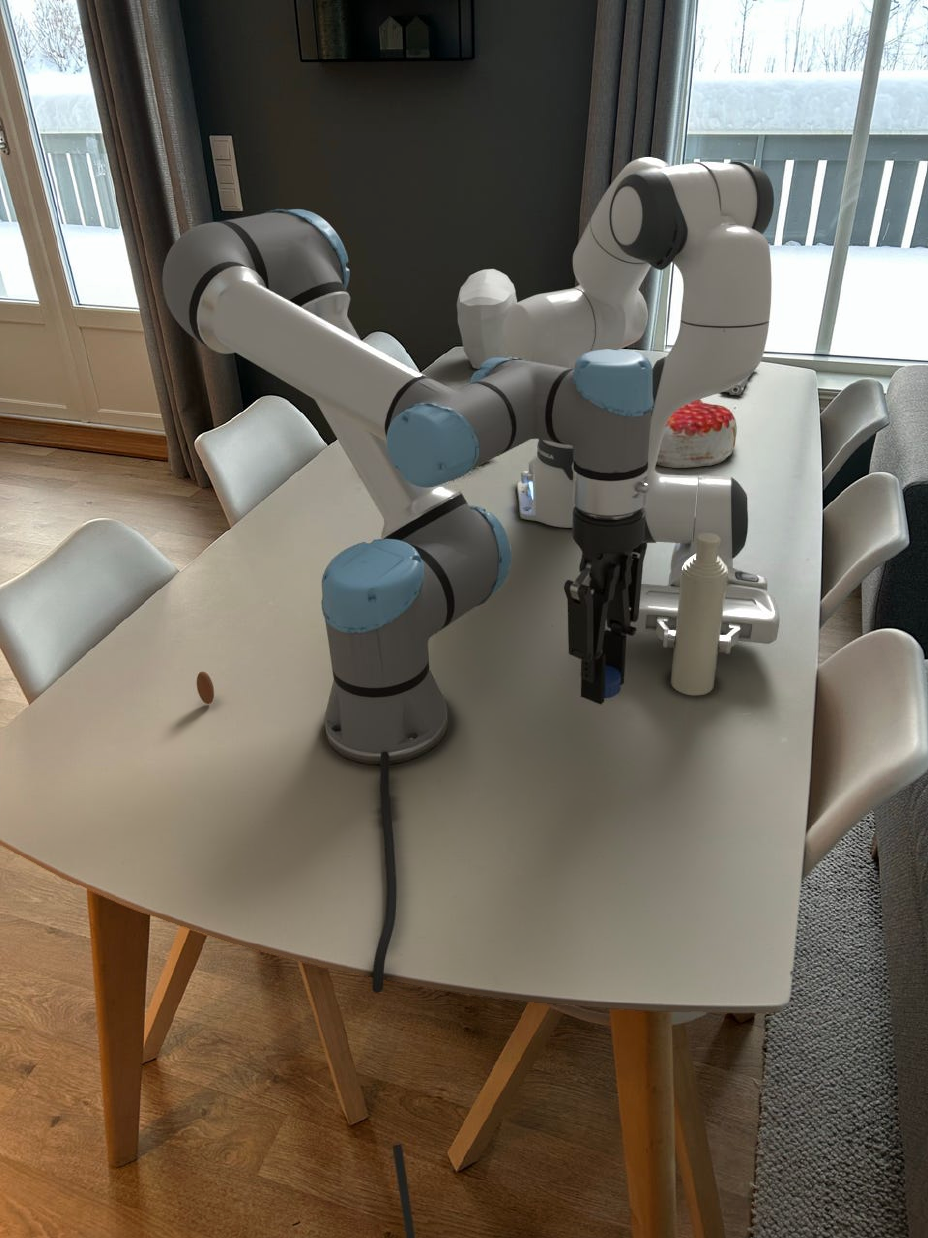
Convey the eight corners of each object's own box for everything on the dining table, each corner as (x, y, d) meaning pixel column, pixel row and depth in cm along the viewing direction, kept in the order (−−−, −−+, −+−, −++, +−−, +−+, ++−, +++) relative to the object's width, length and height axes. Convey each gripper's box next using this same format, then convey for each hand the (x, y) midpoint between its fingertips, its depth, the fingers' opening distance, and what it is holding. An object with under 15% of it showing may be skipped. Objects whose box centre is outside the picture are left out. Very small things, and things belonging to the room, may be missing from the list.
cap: (587, 698, 104) (587, 684, 103) (586, 679, 108) (586, 664, 106) (621, 699, 104) (621, 684, 103) (619, 679, 107) (619, 664, 106)
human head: (525, 334, 255) (519, 254, 235) (516, 385, 243) (510, 305, 223) (470, 333, 258) (461, 254, 237) (459, 384, 246) (448, 305, 226)
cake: (753, 436, 193) (759, 390, 187) (714, 476, 175) (719, 426, 170) (651, 420, 204) (654, 376, 198) (605, 456, 186) (607, 409, 181)
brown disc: (219, 703, 119) (212, 671, 116) (206, 710, 118) (198, 678, 115) (211, 696, 120) (204, 665, 117) (198, 703, 119) (190, 672, 116)
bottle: (672, 695, 117) (687, 547, 106) (669, 670, 121) (682, 527, 110) (716, 696, 116) (735, 548, 105) (710, 671, 121) (729, 527, 110)
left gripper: (597, 545, 86) (591, 738, 98) (680, 486, 97) (666, 666, 109) (532, 526, 90) (534, 714, 102) (619, 472, 101) (612, 647, 113)
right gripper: (625, 566, 127) (615, 617, 115) (778, 578, 122) (783, 632, 111) (623, 604, 130) (613, 658, 119) (772, 618, 125) (776, 675, 114)
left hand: (602, 689), depth 106 cm, fingers closed on cap, 4 cm apart
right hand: (696, 646), depth 115 cm, fingers closed on bottle, 5 cm apart
